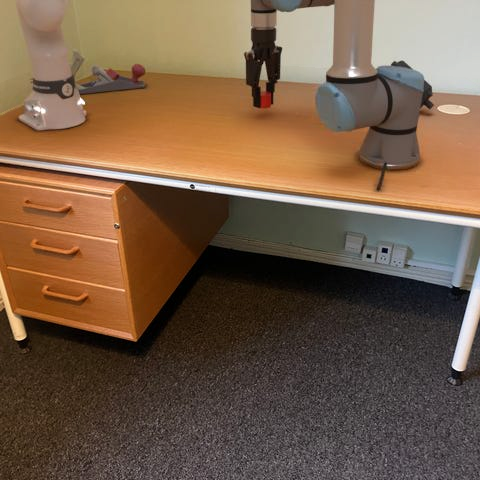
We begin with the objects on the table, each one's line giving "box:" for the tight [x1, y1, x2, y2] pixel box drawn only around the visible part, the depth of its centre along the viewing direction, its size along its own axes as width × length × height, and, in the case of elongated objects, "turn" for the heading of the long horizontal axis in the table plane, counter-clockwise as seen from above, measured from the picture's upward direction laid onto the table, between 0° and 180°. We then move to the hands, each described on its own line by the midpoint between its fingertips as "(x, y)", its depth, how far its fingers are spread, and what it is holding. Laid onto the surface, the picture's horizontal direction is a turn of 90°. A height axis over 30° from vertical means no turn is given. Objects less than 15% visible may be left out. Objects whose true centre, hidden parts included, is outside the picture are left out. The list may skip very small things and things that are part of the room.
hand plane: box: [70, 48, 146, 95], centre depth 194 cm, size 7×31×15 cm, turn 107°
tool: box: [389, 60, 435, 111], centre depth 170 cm, size 6×19×15 cm, turn 51°
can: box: [260, 90, 272, 109], centre depth 167 cm, size 5×5×4 cm
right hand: (263, 105), depth 168 cm, fingers closed on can, 5 cm apart
